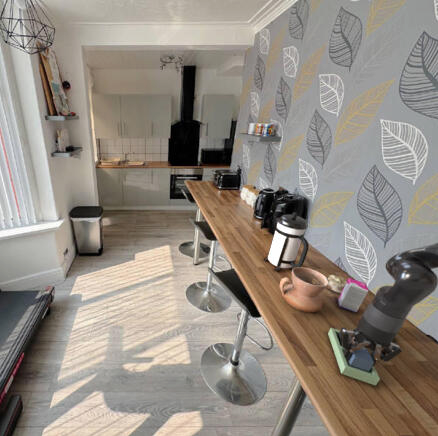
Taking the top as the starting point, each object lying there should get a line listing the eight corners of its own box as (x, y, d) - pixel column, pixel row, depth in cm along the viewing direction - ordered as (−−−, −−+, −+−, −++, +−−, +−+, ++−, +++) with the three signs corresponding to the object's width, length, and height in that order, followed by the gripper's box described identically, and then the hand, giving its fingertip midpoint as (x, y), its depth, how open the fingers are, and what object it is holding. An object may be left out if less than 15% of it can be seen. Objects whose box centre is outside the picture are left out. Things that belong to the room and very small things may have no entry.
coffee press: (259, 265, 122) (274, 213, 110) (268, 253, 134) (282, 204, 121) (297, 280, 112) (317, 224, 100) (303, 266, 123) (322, 213, 111)
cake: (346, 285, 111) (352, 276, 109) (349, 298, 103) (355, 288, 101) (322, 276, 116) (327, 267, 113) (323, 287, 108) (328, 279, 105)
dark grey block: (352, 343, 81) (356, 335, 79) (357, 354, 77) (361, 346, 75) (336, 338, 82) (340, 330, 81) (340, 349, 79) (344, 341, 77)
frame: (356, 342, 82) (359, 336, 81) (375, 385, 69) (380, 379, 67) (327, 333, 85) (330, 327, 84) (341, 373, 72) (345, 367, 70)
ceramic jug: (315, 295, 103) (327, 269, 97) (329, 321, 90) (343, 292, 84) (271, 287, 107) (279, 261, 101) (278, 310, 94) (288, 282, 89)
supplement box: (357, 313, 94) (369, 291, 90) (338, 307, 97) (349, 285, 93) (355, 304, 99) (366, 282, 94) (337, 298, 102) (347, 277, 97)
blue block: (362, 358, 74) (367, 349, 72) (368, 371, 70) (374, 363, 68) (344, 352, 75) (349, 344, 74) (349, 365, 71) (355, 356, 70)
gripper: (354, 322, 65) (332, 362, 72) (423, 341, 60) (392, 382, 67) (345, 303, 71) (326, 343, 78) (406, 319, 66) (380, 360, 73)
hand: (356, 361), depth 72 cm, fingers closed on blue block, 4 cm apart
